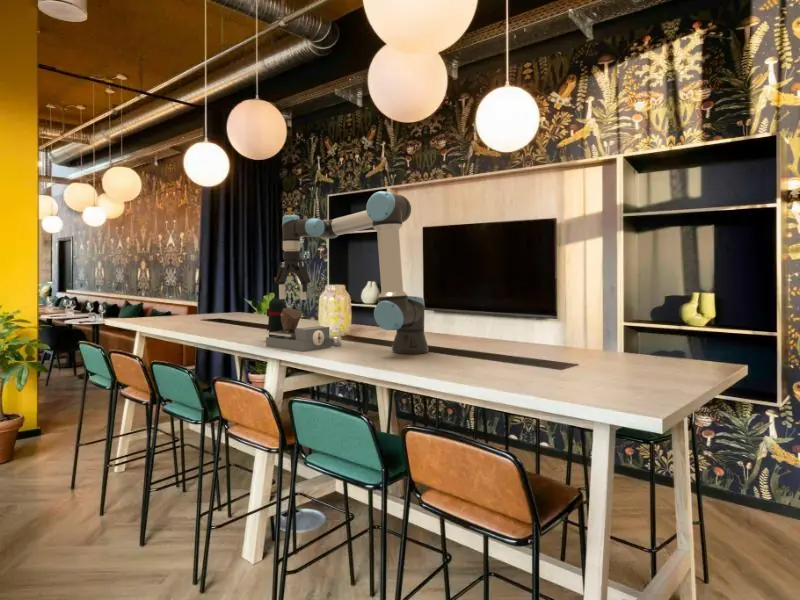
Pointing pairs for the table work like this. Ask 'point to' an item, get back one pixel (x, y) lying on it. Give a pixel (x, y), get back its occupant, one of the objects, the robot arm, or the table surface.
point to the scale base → (302, 339)
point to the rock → (290, 319)
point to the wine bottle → (275, 312)
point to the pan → (283, 333)
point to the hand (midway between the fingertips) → (292, 299)
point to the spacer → (335, 341)
